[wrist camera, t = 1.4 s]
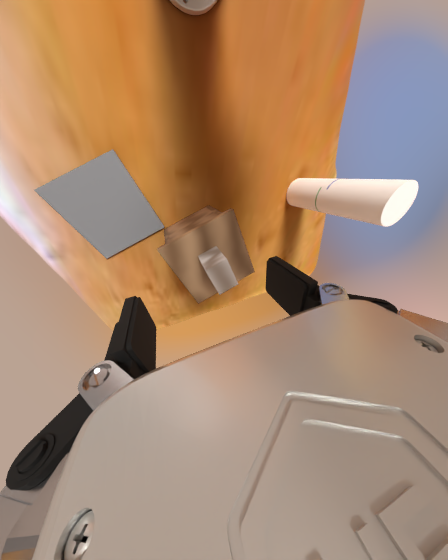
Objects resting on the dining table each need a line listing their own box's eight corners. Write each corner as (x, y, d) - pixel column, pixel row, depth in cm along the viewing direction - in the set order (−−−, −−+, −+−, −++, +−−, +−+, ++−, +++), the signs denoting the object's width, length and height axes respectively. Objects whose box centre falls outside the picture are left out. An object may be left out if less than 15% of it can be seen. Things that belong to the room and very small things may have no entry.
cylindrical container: (310, 190, 48) (418, 201, 28) (293, 210, 49) (383, 234, 30) (300, 171, 44) (418, 168, 24) (282, 194, 45) (377, 208, 25)
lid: (230, 208, 29) (248, 216, 23) (252, 269, 38) (268, 285, 32) (157, 248, 28) (157, 266, 22) (197, 300, 37) (204, 322, 32)
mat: (113, 149, 30) (112, 149, 29) (164, 226, 39) (164, 227, 39) (35, 189, 29) (34, 189, 29) (107, 257, 39) (106, 258, 38)
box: (208, 205, 40) (227, 216, 29) (227, 247, 48) (247, 268, 37) (163, 229, 40) (165, 250, 29) (189, 267, 48) (199, 295, 37)
